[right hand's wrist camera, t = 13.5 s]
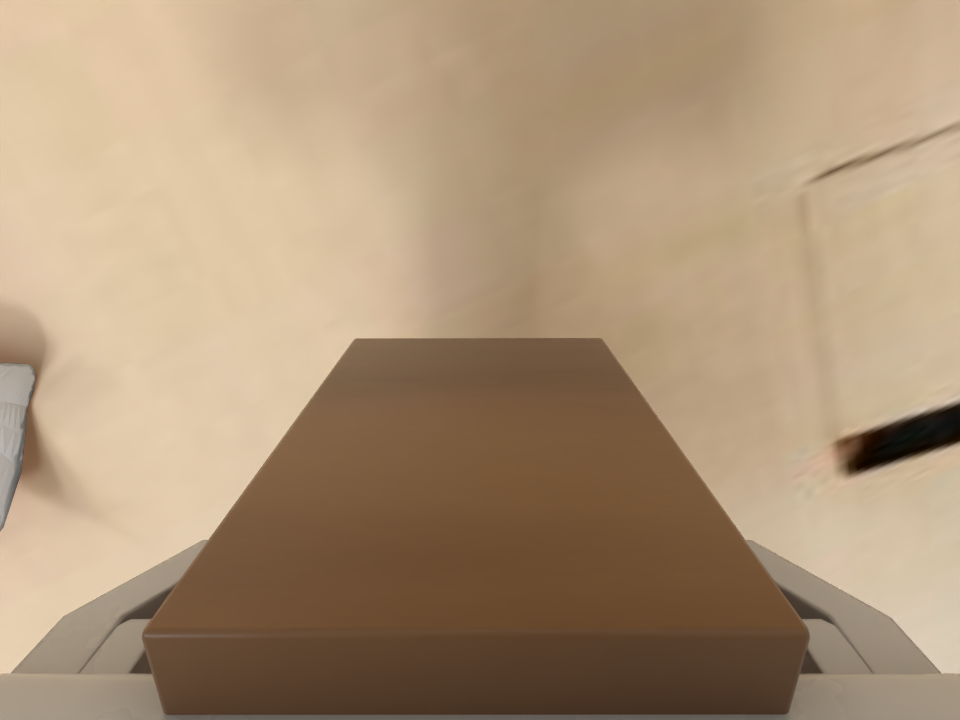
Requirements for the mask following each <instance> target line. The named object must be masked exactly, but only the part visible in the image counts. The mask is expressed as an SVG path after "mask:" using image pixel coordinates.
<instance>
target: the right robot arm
mask: <svg viewBox="0 0 960 720" xmlns="http://www.w3.org/2000/svg"><path fill="white" fill-rule="evenodd" d="M207 541H208V540H202V541H200V542H199V543H197V544H195V545H193V546H191V547H190V548H188V549H186V550H184V551H182V552H180V553H179V554H177V555H175V556H173V557H171V558H169V559H168V560H166V561H164V562H162V563H160V564H158V565H157V566H155V567H153V568H151V569H149V570H148V571H146V572H144V573H142V574H140V575H138V576H137V577H135V578H133V579H131V580H129V581H127V582H126V583H124V584H122V585H120V586H118V587H116V588H115V589H113V590H111V591H109V592H107V593H106V594H104V595H102V596H100V597H98V598H96V599H95V600H93V601H91V602H89V603H87V604H85V605H84V606H82V607H80V608H78V609H76V610H74V611H73V612H71V613H69V614H67V615H65V616H64V617H62V619H61V620H60V621H59V622H58V623H57V624H56V625H55V626H54V627H53V628H52V629H51V630H50V631H49V633H48V634H47V635H46V636H45V637H44V638H43V639H42V640H41V641H40V642H39V643H38V644H37V645H36V647H35V648H34V649H33V650H32V651H31V652H30V653H29V654H28V655H27V656H26V657H25V658H24V659H23V661H22V662H21V663H20V664H19V665H18V666H17V667H16V668H15V669H14V670H13V671H12V672H11V673H10V674H0V720H960V674H942V673H941V672H940V671H939V670H938V669H937V668H936V667H935V666H934V665H933V663H932V662H931V661H930V660H929V659H928V658H927V657H926V656H925V655H924V654H923V652H922V651H921V650H920V649H919V648H918V647H917V646H916V645H915V644H914V643H913V641H912V640H911V639H910V638H909V637H908V636H907V635H906V634H905V633H904V632H903V630H902V629H901V628H900V627H899V626H898V625H897V624H896V623H895V622H894V621H893V619H892V618H891V617H889V616H887V615H885V614H884V613H882V612H880V611H878V610H876V609H875V608H873V607H871V606H869V605H867V604H865V603H864V602H862V601H860V600H858V599H856V598H855V597H853V596H851V595H849V594H847V593H846V592H844V591H842V590H840V589H838V588H837V587H835V586H833V585H831V584H829V583H828V582H826V581H824V580H822V579H820V578H819V577H817V576H815V575H813V574H811V573H810V572H808V571H806V570H804V569H802V568H801V567H799V566H797V565H795V564H793V563H792V562H790V561H788V560H786V559H784V558H783V557H781V556H779V555H777V554H775V553H774V552H772V551H770V550H768V549H766V548H765V547H763V546H761V545H759V544H757V543H756V542H754V541H752V540H746V542H747V543H748V545H749V546H750V547H751V549H752V550H753V552H754V553H755V554H756V556H757V557H758V559H759V560H760V561H761V563H762V564H763V566H764V567H765V569H766V570H767V571H768V573H769V574H770V576H771V577H772V578H773V580H774V581H775V583H776V584H777V585H778V587H779V588H780V590H781V591H782V592H783V594H784V595H785V597H786V598H787V599H788V601H789V602H790V604H791V605H792V606H793V608H794V609H795V611H796V612H797V613H798V615H799V616H800V618H801V619H802V620H803V622H804V623H805V625H806V626H807V627H808V630H809V634H810V640H809V643H808V647H807V650H806V654H805V657H804V661H803V664H802V668H801V671H800V675H799V678H798V682H797V685H796V689H795V692H794V696H793V699H792V703H791V706H790V710H789V713H787V714H785V715H167V714H165V713H164V712H163V709H162V706H161V702H160V699H159V695H158V692H157V689H156V685H155V682H154V678H153V675H152V672H151V668H150V665H149V661H148V658H147V655H146V651H145V648H144V645H143V641H142V633H143V630H144V628H145V627H146V625H147V624H148V623H149V621H150V620H151V618H152V617H153V616H154V614H155V613H156V612H157V610H158V609H159V607H160V606H161V605H162V603H163V602H164V601H165V599H166V598H167V596H168V595H169V594H170V592H171V591H172V590H173V588H174V587H175V585H176V584H177V583H178V581H179V580H180V579H181V577H182V576H183V574H184V573H185V572H186V570H187V569H188V568H189V566H190V565H191V563H192V562H193V561H194V559H195V558H196V557H197V555H198V554H199V552H200V551H201V550H202V548H203V547H204V546H205V544H206V543H207Z"/></svg>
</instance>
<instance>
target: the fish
mask: <svg viewBox="0 0 960 720" xmlns="http://www.w3.org/2000/svg"><path fill="white" fill-rule="evenodd" d="M34 382H35V373H34V369H33V368H32V366H31V365H30V364H15V363H3V364H0V531H1V530H2V528H3V527H4V524H5V521H6V518H7V515H8V512H9V509H10V505H11V502H12V499H13V496H14V493H15V490H16V487H17V484H18V481H19V478H20V474H21V469H22V460H23V451H24V442H25V431H26V420H27V409H28V405H29V402H30V399H31V396H32V393H33V388H34Z"/></svg>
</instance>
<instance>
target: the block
mask: <svg viewBox="0 0 960 720" xmlns="http://www.w3.org/2000/svg"><path fill="white" fill-rule="evenodd" d="M809 640H810V634H809V630H808V627H807V626H806V625H805V623H804V622H803V620H802V619H801V618H800V616H799V615H798V613H797V612H796V611H795V609H794V608H793V606H792V605H791V604H790V602H789V601H788V599H787V598H786V597H785V595H784V594H783V592H782V591H781V590H780V588H779V587H778V585H777V584H776V583H775V581H774V580H773V578H772V577H771V576H770V574H769V573H768V571H767V570H766V569H765V567H764V566H763V564H762V563H761V561H760V560H759V559H758V557H757V556H756V554H755V553H754V552H753V550H752V549H751V547H750V546H749V545H748V543H747V542H746V540H745V539H744V538H743V536H742V535H741V533H740V532H739V531H738V529H737V528H736V526H735V525H734V524H733V522H732V521H731V519H730V518H729V517H728V515H727V514H726V512H725V511H724V510H723V508H722V507H721V505H720V504H719V503H718V501H717V500H716V498H715V497H714V495H713V494H712V493H711V491H710V490H709V488H708V487H707V486H706V484H705V483H704V481H703V480H702V479H701V477H700V476H699V474H698V473H697V472H696V470H695V469H694V467H693V466H692V465H691V463H690V462H689V460H688V459H687V458H686V456H685V455H684V453H683V452H682V451H681V449H680V448H679V446H678V445H677V444H676V442H675V441H674V439H673V438H672V437H671V435H670V434H669V432H668V431H667V429H666V428H665V427H664V425H663V424H662V422H661V421H660V420H659V418H658V417H657V415H656V414H655V413H654V411H653V410H652V408H651V407H650V406H649V404H648V403H647V401H646V400H645V399H644V397H643V396H642V394H641V393H640V392H639V390H638V389H637V387H636V386H635V385H634V383H633V382H632V380H631V379H630V378H629V376H628V375H627V373H626V372H625V371H624V369H623V368H622V366H621V365H620V363H619V362H618V361H617V359H616V358H615V356H614V355H613V354H612V352H611V351H610V349H609V348H608V347H607V345H606V344H605V342H604V341H603V340H602V339H600V338H483V339H354V341H353V342H352V343H351V345H350V346H349V347H348V349H347V350H346V352H345V353H344V354H343V356H342V357H341V358H340V360H339V361H338V363H337V364H336V365H335V367H334V368H333V369H332V371H331V372H330V374H329V375H328V376H327V378H326V379H325V380H324V382H323V383H322V385H321V386H320V387H319V389H318V390H317V391H316V393H315V394H314V396H313V397H312V398H311V400H310V401H309V402H308V404H307V405H306V407H305V408H304V409H303V411H302V412H301V413H300V415H299V416H298V418H297V419H296V420H295V422H294V423H293V424H292V426H291V427H290V429H289V430H288V431H287V433H286V434H285V435H284V437H283V438H282V440H281V441H280V442H279V444H278V445H277V446H276V448H275V449H274V451H273V452H272V453H271V455H270V456H269V457H268V459H267V460H266V462H265V463H264V464H263V466H262V467H261V468H260V470H259V471H258V473H257V474H256V475H255V477H254V478H253V479H252V481H251V482H250V484H249V485H248V486H247V488H246V489H245V490H244V492H243V493H242V495H241V496H240V497H239V499H238V500H237V501H236V503H235V504H234V506H233V507H232V508H231V510H230V511H229V513H228V514H227V515H226V517H225V518H224V519H223V521H222V522H221V524H220V525H219V526H218V528H217V529H216V530H215V532H214V533H213V535H212V536H211V537H210V539H209V540H208V541H207V543H206V544H205V546H204V547H203V548H202V550H201V551H200V552H199V554H198V555H197V557H196V558H195V559H194V561H193V562H192V563H191V565H190V566H189V568H188V569H187V570H186V572H185V573H184V574H183V576H182V577H181V579H180V580H179V581H178V583H177V584H176V585H175V587H174V588H173V590H172V591H171V592H170V594H169V595H168V596H167V598H166V599H165V601H164V602H163V603H162V605H161V606H160V607H159V609H158V610H157V612H156V613H155V614H154V616H153V617H152V618H151V620H150V621H149V623H148V624H147V625H146V627H145V628H144V630H143V633H142V641H143V645H144V648H145V651H146V655H147V658H148V661H149V665H150V668H151V672H152V675H153V678H154V682H155V685H156V689H157V692H158V695H159V699H160V702H161V706H162V709H163V712H164V713H165V714H167V715H785V714H787V713H789V710H790V706H791V703H792V699H793V696H794V692H795V689H796V685H797V682H798V678H799V675H800V671H801V668H802V664H803V661H804V657H805V654H806V650H807V647H808V643H809Z"/></svg>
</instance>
